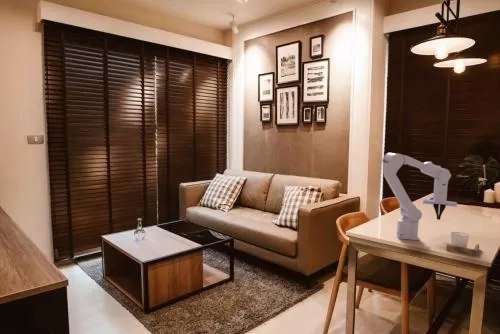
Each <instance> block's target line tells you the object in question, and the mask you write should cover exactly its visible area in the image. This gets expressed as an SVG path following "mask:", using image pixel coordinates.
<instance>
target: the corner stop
mask: <svg viewBox="0 0 500 334" xmlns="http://www.w3.org/2000/svg"><path fill="white" fill-rule="evenodd" d="M446 251H449V252H452V253H458V254H463V255H467V256H472V257H477V256H478V252H479V251H480V244H479V243H476V244H475V247H474V248H469V247H467V248H464V247H459V246H453V245H451V244H449V243H447V244H446Z"/></svg>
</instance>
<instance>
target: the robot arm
mask: <svg viewBox="0 0 500 334" xmlns="http://www.w3.org/2000/svg"><path fill="white" fill-rule="evenodd" d="M381 162H382V169H383V171H382V174H383V176H384V178H385V180H386V182H387V184H388V185H389V188H390V189H391V191H392V193H393V194H394V196H395V198H396V200H397V201H398V203H399V205H398V206H399V209H400V214H401V216H402V219H397V223H396V236H397V237H398V239H399V240H400V239H402V240H413V241H420V240H421V239H420V238H419V236H418V235H419V224H420V223H419V222H420V221H421V218H422V216H423V214H422V211H421V210H420V209H419V208H418V207H417V206H416V205H415V204H414V203H413V202H412V201H411V199H410V197H409V195H408V194H407V192H406V190H405V188H404V186H403V184H402V183H401V181H400V179H399V178H398V176H397V173H398V171H399V170H400V168H401V167H402V166H404V165H408V166H411V167H414V168H417V169H419V170H420V172H421V173H423V174H424V175H427V176H430V177H432V178H434V180H433V181H434V182H433V194H432V195H433V197H432V199H428V198H426V199H425V198H424V199H423V200H422V204H423V205H426V204H427V205H432V206H433V209H434V211H435V216H436V220H438V221H440V220H441V218H442V215H443V212H444V211H445V209H446V207H454V208H455V207H456V208H457V206H458V205H457V204H458V202H455V201H448V200H447V197H448V184H449V181H450V179H451V177H452V174H451V172H450V170H449V169H448V168H443V167H441V165H436V164H434V163H433V162H432V161H425V162H421V161H420V160H417V159H415V158H413V157H410V156H409V155H405V154H401V153H394V152H387V153H386V154H384V155H383V158H382V161H381Z"/></svg>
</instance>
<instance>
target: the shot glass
mask: <svg viewBox="0 0 500 334" xmlns="http://www.w3.org/2000/svg"><path fill="white" fill-rule="evenodd" d="M469 238H470V235H469V234H467V233H464V232H460V231H459V232H458V231H453V232H450V240H451V242H450V243H451V244H450V245H453V246H459V247H464V248H468V242H469Z"/></svg>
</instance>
